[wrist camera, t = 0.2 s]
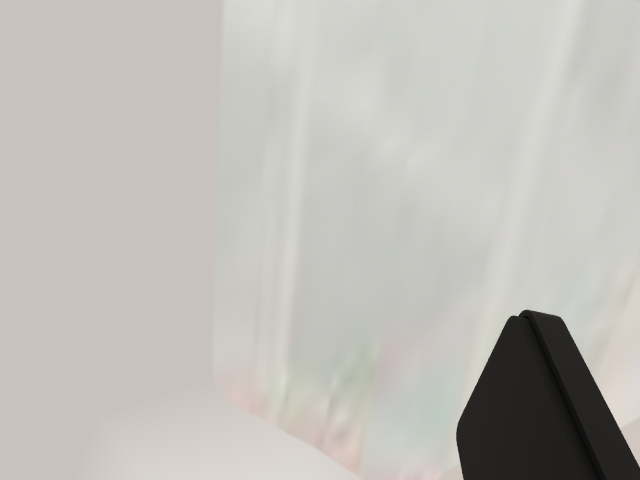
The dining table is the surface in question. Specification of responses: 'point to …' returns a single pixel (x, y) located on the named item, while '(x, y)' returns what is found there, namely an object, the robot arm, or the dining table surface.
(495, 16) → the dining table surface
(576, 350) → the robot arm
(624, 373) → the dining table surface
